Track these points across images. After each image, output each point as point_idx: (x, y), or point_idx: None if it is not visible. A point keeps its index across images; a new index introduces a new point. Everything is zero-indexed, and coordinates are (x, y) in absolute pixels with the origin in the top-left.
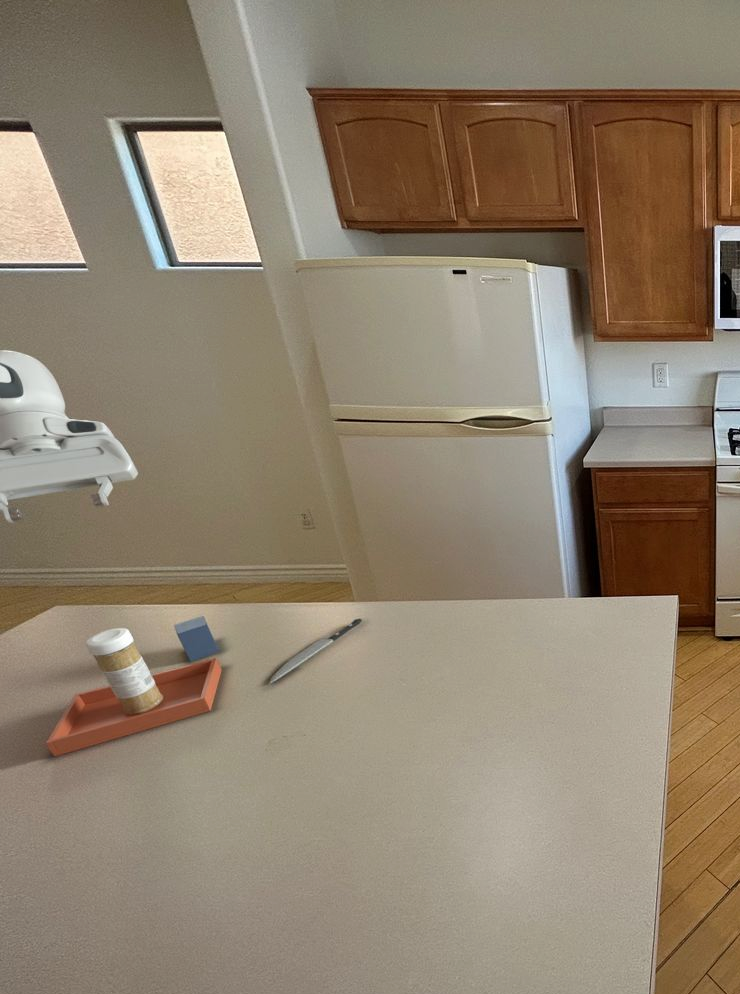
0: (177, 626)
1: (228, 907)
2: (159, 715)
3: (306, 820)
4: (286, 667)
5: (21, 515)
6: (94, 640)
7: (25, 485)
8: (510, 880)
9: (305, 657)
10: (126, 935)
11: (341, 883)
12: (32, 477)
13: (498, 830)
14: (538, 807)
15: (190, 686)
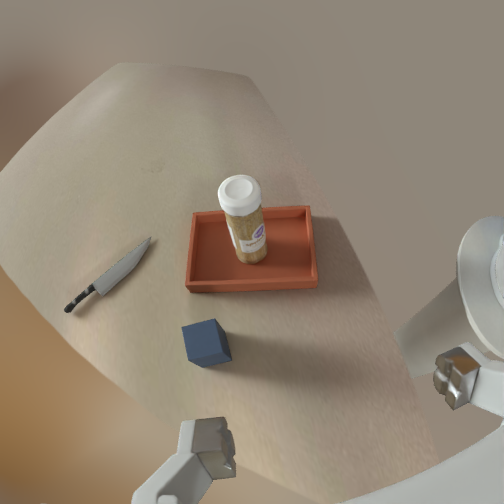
0: (217, 343)
1: (189, 93)
2: None
3: (156, 116)
4: (134, 254)
5: (446, 390)
6: (249, 184)
7: (478, 444)
8: (112, 88)
9: (117, 263)
10: (223, 93)
11: (153, 93)
12: (468, 493)
13: (103, 101)
14: (88, 107)
15: (215, 266)
